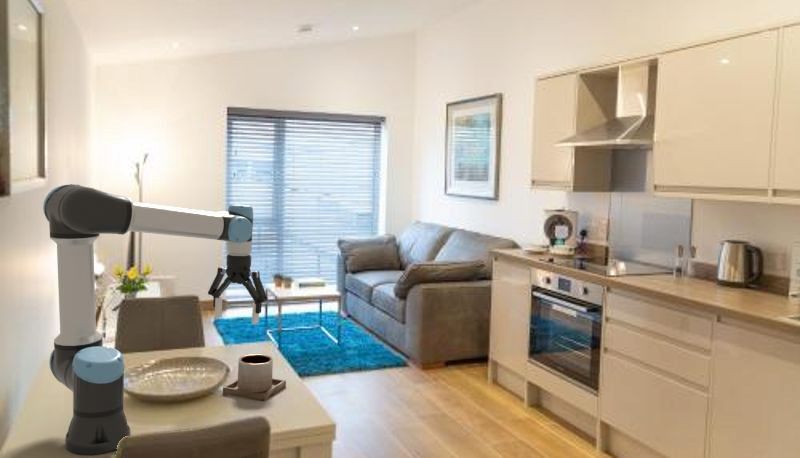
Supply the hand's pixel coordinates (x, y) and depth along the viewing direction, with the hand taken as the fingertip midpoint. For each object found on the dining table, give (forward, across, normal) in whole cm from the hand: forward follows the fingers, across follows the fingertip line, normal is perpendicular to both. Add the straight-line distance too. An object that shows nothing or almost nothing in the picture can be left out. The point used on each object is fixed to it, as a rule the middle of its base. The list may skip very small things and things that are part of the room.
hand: (236, 320), depth 207 cm
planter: (+22, -6, -2) cm, 23 cm away
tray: (+22, -6, -3) cm, 23 cm away
